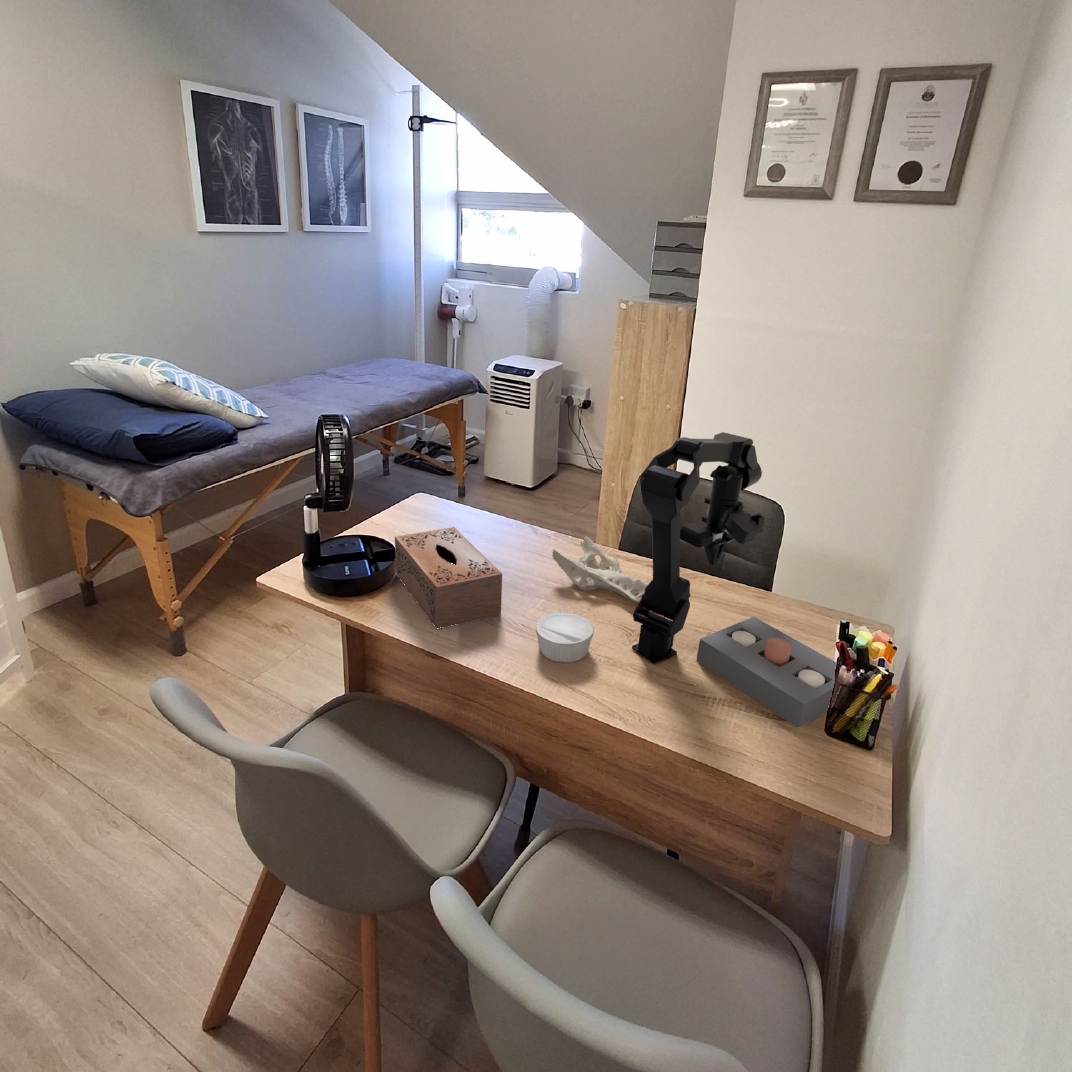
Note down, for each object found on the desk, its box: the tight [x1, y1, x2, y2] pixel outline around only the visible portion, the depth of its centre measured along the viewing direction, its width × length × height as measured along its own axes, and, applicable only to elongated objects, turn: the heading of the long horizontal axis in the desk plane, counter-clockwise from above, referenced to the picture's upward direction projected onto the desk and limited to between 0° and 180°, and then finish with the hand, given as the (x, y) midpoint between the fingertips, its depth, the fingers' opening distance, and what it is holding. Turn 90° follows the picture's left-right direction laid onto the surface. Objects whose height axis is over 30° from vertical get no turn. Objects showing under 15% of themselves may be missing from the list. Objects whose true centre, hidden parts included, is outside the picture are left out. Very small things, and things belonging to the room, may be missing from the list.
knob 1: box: [732, 631, 756, 647], centre depth 132 cm, size 4×4×4 cm
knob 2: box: [797, 670, 825, 689], centre depth 121 cm, size 4×4×4 cm
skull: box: [551, 535, 651, 604], centre depth 155 cm, size 12×8×25 cm
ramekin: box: [535, 612, 595, 664], centre depth 132 cm, size 11×11×5 cm
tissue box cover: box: [394, 526, 503, 629], centre depth 149 cm, size 26×14×10 cm, turn 29°
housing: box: [696, 616, 838, 729], centre depth 127 cm, size 16×23×5 cm
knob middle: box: [762, 638, 792, 667], centre depth 126 cm, size 4×4×4 cm
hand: (712, 564), depth 143 cm, fingers closed
